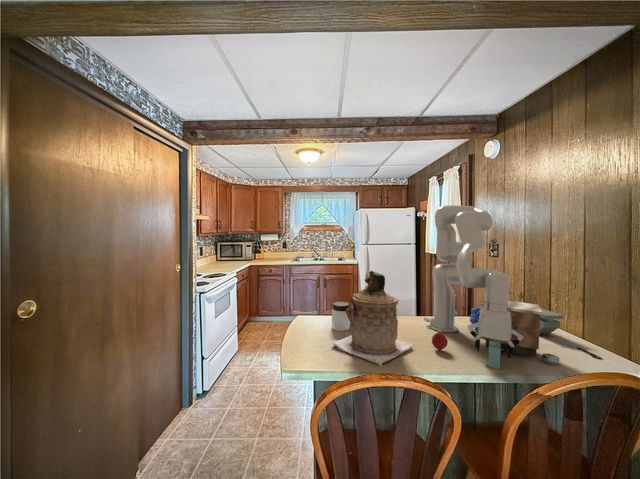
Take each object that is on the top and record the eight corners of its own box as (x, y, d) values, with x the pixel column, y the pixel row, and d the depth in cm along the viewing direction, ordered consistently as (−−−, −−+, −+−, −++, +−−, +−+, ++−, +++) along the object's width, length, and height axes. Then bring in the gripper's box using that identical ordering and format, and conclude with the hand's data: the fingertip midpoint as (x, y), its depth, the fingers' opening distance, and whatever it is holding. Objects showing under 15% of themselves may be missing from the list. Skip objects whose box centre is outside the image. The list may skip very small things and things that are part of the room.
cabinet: (483, 352, 115) (484, 305, 114) (484, 341, 126) (486, 298, 126) (540, 364, 106) (542, 312, 105) (536, 351, 117) (538, 304, 116)
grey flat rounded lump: (544, 364, 106) (544, 357, 106) (540, 358, 111) (540, 352, 111) (561, 367, 104) (561, 360, 104) (556, 361, 109) (557, 355, 109)
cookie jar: (415, 348, 119) (417, 270, 117) (380, 368, 101) (382, 276, 100) (365, 332, 136) (367, 264, 135) (329, 347, 119) (330, 268, 118)
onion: (440, 354, 113) (440, 334, 113) (428, 349, 118) (428, 329, 118) (450, 351, 116) (450, 331, 115) (438, 346, 121) (438, 327, 121)
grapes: (462, 328, 143) (463, 304, 143) (475, 328, 144) (476, 304, 143) (476, 337, 131) (477, 311, 131) (491, 337, 132) (491, 311, 131)
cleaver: (578, 359, 111) (606, 360, 110) (578, 357, 111) (606, 359, 110) (530, 332, 140) (552, 333, 139) (530, 331, 140) (552, 332, 139)
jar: (351, 331, 138) (352, 305, 138) (335, 332, 136) (335, 306, 136) (346, 324, 147) (346, 301, 146) (330, 325, 145) (330, 301, 145)
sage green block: (488, 366, 104) (488, 347, 103) (489, 348, 119) (490, 331, 119) (499, 369, 102) (500, 349, 101) (500, 350, 117) (500, 333, 117)
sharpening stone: (505, 322, 155) (506, 301, 154) (520, 321, 155) (520, 301, 155) (545, 339, 130) (546, 315, 130) (562, 339, 130) (563, 315, 130)
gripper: (467, 305, 106) (465, 350, 108) (525, 313, 97) (522, 363, 98) (469, 300, 113) (467, 343, 114) (524, 308, 104) (521, 355, 105)
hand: (493, 352), depth 106 cm, fingers open, 9 cm apart
